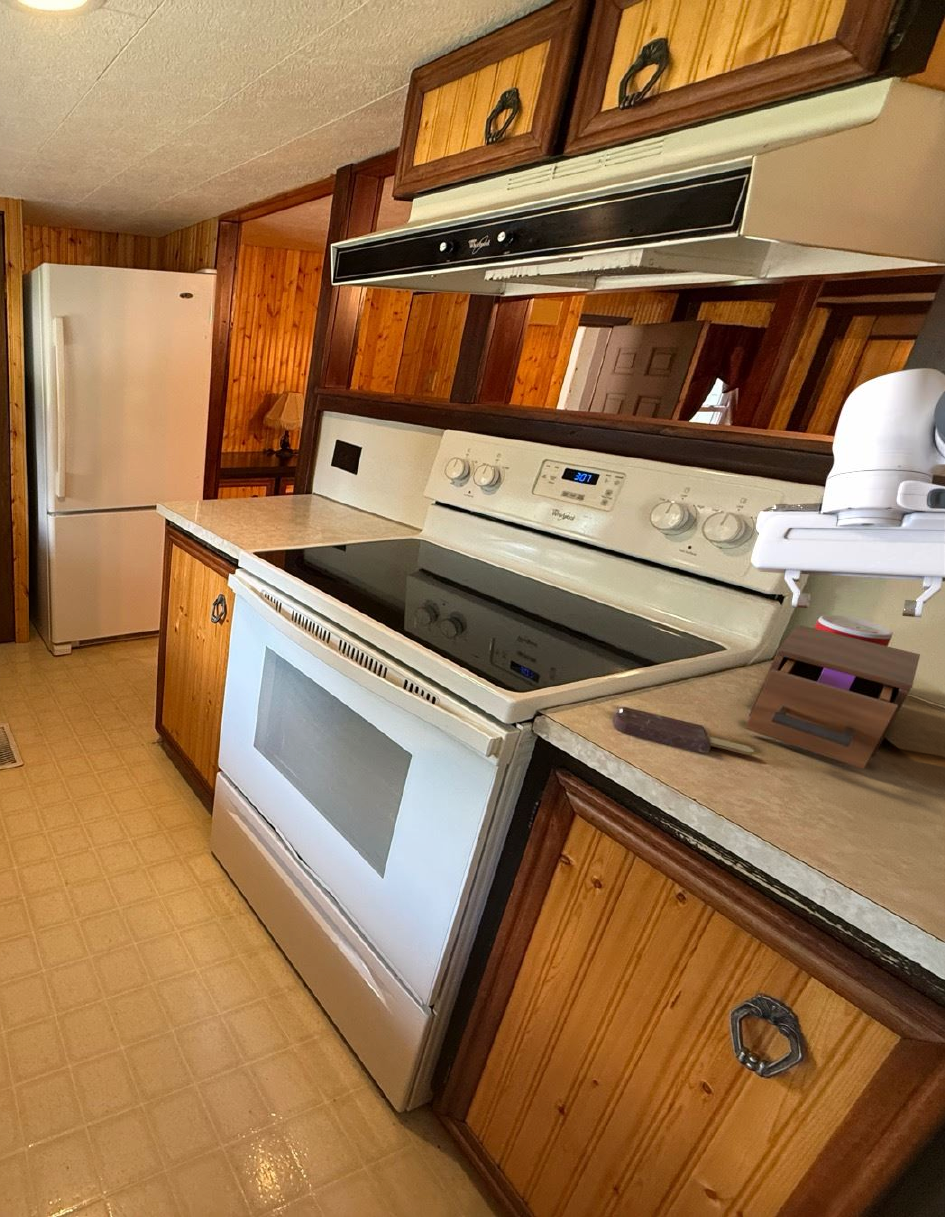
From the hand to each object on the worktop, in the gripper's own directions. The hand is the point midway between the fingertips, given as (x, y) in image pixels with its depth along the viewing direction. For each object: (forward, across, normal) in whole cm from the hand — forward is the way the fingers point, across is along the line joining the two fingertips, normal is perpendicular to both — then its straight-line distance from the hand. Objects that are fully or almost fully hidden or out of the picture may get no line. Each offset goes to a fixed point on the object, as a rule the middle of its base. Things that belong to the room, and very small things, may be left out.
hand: (853, 611), depth 81 cm
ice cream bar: (+20, -13, -6) cm, 25 cm away
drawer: (+16, -2, +8) cm, 18 cm away
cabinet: (+13, -2, +18) cm, 22 cm away
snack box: (+8, -1, +9) cm, 12 cm away
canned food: (+8, -3, +31) cm, 32 cm away
